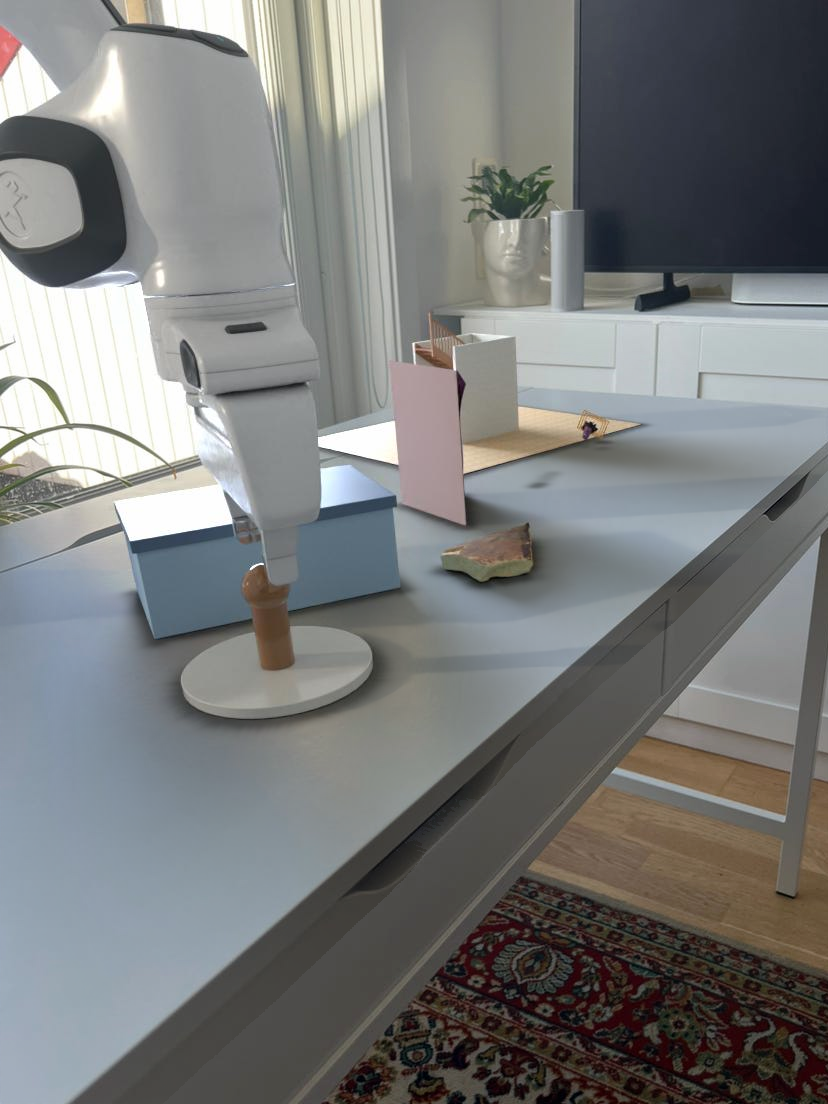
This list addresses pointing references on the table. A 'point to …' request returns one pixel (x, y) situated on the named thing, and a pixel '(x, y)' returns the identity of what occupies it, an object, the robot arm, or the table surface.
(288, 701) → the peg on round base
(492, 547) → the shard
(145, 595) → the storage container
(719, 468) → the table surface
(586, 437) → the framed picture
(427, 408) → the greeting card
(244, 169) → the robot arm
